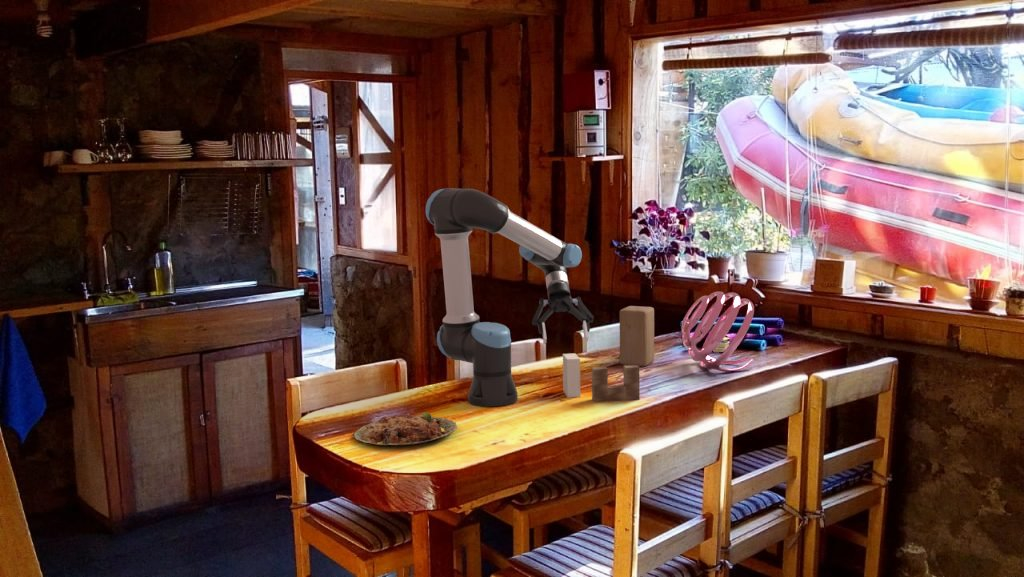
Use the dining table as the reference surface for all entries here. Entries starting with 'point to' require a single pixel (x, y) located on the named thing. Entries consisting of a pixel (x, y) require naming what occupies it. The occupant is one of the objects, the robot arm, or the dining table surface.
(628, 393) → the slotted walnut plate
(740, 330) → the pink openwork looped piece
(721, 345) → the stacked layers on plate
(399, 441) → the rice dish
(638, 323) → the wooden block
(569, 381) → the cream plate
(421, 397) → the dining table surface
